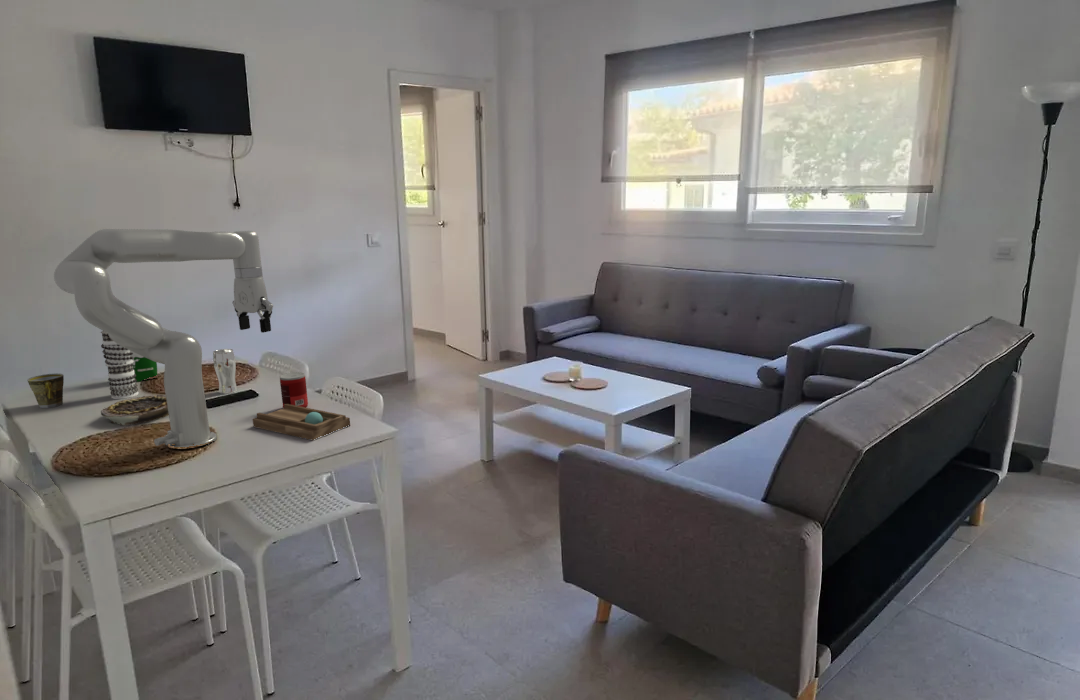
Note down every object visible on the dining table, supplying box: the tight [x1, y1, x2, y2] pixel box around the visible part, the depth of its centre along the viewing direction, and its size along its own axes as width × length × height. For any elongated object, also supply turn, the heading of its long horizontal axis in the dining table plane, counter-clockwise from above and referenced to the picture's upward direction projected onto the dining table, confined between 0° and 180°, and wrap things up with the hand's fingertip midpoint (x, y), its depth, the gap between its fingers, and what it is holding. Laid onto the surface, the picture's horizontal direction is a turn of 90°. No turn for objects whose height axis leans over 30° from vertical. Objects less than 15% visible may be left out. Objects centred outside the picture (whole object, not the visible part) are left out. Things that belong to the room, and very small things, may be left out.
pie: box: [100, 394, 169, 426], centre depth 217 cm, size 28×27×5 cm
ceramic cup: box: [27, 372, 64, 409], centre depth 229 cm, size 13×10×10 cm
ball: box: [305, 412, 323, 425], centre depth 200 cm, size 5×5×5 cm
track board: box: [252, 404, 351, 441], centre depth 202 cm, size 14×26×4 cm, turn 59°
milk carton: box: [130, 350, 158, 383], centre depth 261 cm, size 9×9×20 cm
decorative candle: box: [99, 330, 139, 400], centre depth 238 cm, size 9×9×25 cm
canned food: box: [279, 371, 309, 409], centre depth 220 cm, size 8×8×11 cm
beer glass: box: [212, 348, 238, 395], centre depth 240 cm, size 7×7×15 cm
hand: (255, 330), depth 203 cm, fingers open, 9 cm apart
